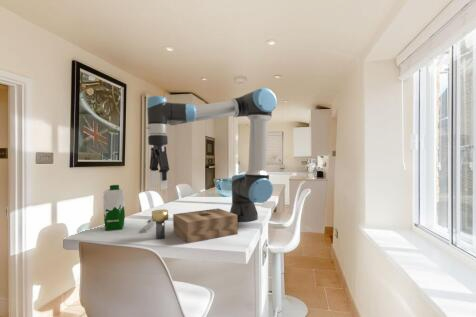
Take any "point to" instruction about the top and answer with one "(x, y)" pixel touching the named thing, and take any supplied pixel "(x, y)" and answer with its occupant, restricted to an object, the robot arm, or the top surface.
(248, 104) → the robot arm
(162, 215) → the pin
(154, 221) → the adjustable wrench
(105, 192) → the milk carton
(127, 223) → the top surface
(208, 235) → the block
